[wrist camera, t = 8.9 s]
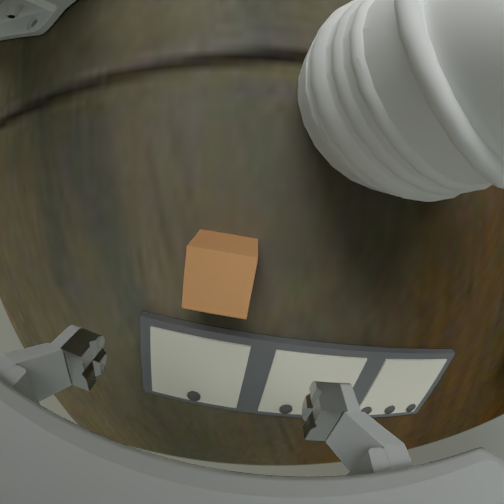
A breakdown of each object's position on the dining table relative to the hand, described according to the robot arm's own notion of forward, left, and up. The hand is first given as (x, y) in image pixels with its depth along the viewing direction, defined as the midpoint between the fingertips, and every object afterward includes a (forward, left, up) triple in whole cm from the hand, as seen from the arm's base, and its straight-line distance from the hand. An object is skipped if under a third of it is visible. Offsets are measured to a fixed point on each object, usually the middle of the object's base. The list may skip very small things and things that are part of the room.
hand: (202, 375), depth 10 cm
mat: (+9, -9, -11) cm, 17 cm away
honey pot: (+9, +14, -11) cm, 20 cm away
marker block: (0, +1, -11) cm, 11 cm away
